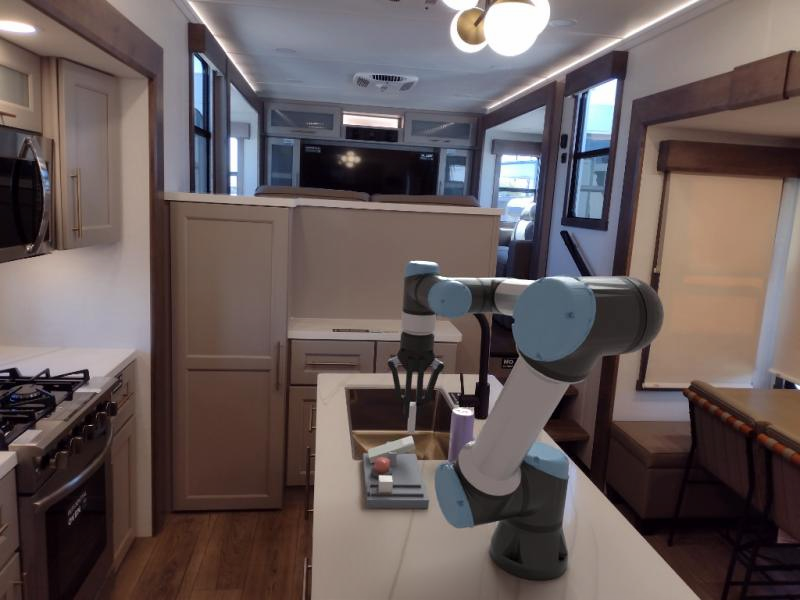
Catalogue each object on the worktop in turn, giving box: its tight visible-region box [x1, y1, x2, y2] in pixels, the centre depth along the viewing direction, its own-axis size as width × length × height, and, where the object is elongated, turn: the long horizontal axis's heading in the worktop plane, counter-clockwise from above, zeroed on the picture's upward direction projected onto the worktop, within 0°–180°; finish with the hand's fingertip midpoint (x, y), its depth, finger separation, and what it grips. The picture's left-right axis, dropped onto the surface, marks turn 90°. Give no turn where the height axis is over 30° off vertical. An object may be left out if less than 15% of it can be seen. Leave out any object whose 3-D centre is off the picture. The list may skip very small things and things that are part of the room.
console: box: [362, 441, 430, 509], centre depth 142 cm, size 24×14×6 cm, turn 6°
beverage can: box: [447, 407, 475, 462], centre depth 153 cm, size 6×6×15 cm
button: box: [374, 457, 390, 473], centre depth 141 cm, size 4×4×2 cm
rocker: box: [367, 435, 416, 463], centre depth 149 cm, size 5×12×2 cm, turn 96°
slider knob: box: [378, 475, 393, 493], centre depth 134 cm, size 3×3×3 cm
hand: (410, 431), depth 133 cm, fingers closed
